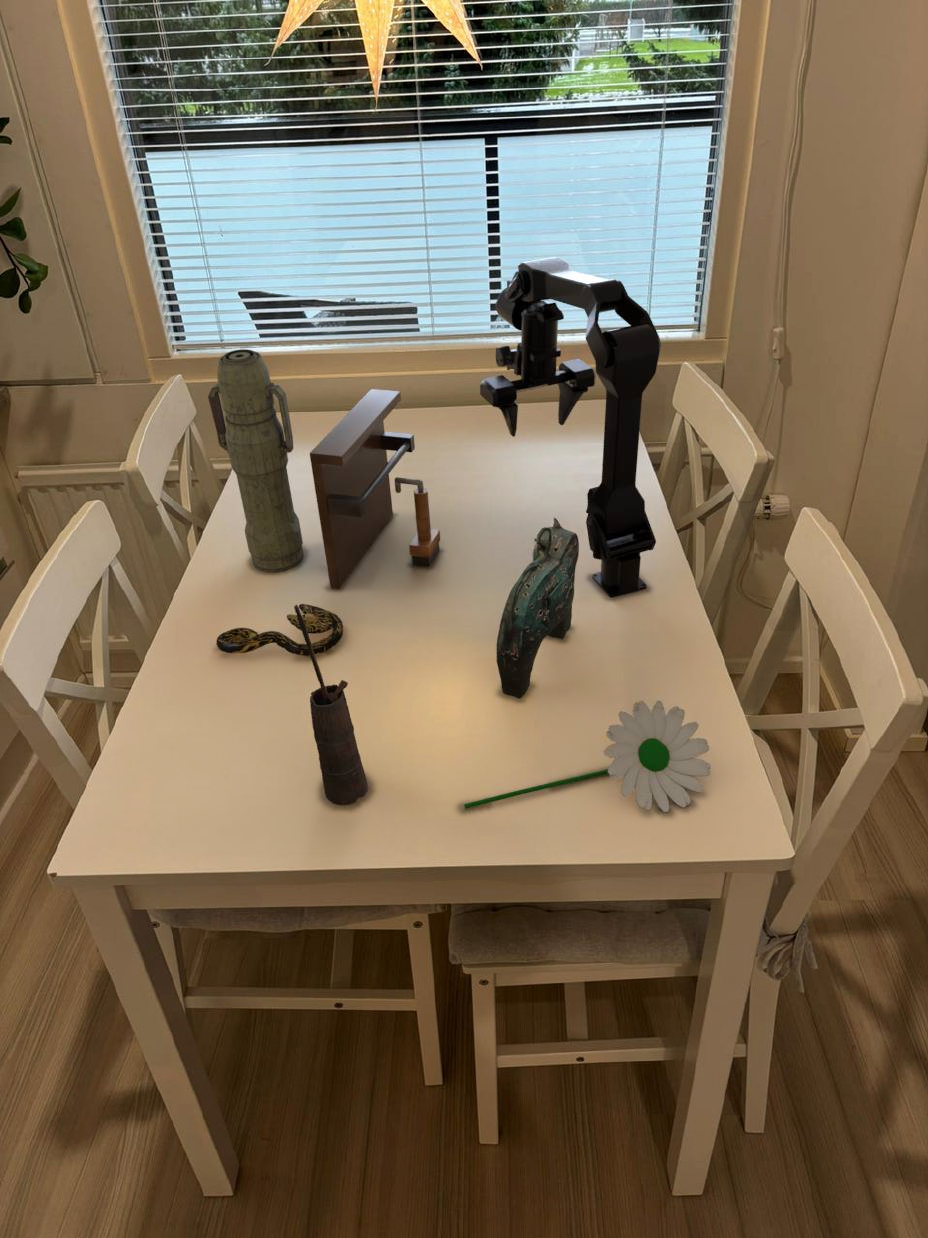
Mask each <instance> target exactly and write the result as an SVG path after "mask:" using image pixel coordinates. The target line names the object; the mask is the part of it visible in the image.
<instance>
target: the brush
mask: <svg viewBox="0 0 928 1238" xmlns="http://www.w3.org/2000/svg"><path fill="white" fill-rule="evenodd" d="M402 484H403V485H411V486H417V488H415V489H414V490H413V498H414V500H413V501H414V511H415V522H416V534H415V535H414V537H413V538H412V539H411V541H410V543H409V544H408V549H409V556H411V564H412V566H415V567H416V566H417V567H423V568H430V567H431V566H432V565H433V563H434V561H435V560H436V559H437V556H438V554H439V552H440V542H441V530H440V529H433V528H431V516H430V503H429V501H430V500H429V490H428V489H427V488H425V487H424V481H423V480H422V479H417V478H409V477H398V476H397V477H395V478H394V491H395V492H396V494H400V493H401V492H402Z"/></svg>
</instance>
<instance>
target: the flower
mask: <svg viewBox="0 0 928 1238" xmlns="http://www.w3.org/2000/svg"><path fill="white" fill-rule="evenodd" d="M664 707H665V706H664V704H663V701H662V700H656V701H655V703H654V705H653V706H652V709H650V707H649V706H648V705H647V704H646V702H645V701H643V700H640V701H638V702H637V701H636V702H634V703H633V706H632V714H633V715H632V714H630V713H629V712H626V711H622V710H620V711H619V712H618V718H619V721H620V723H621V724H622V725H621V724H612V725H608V728H607V729H608V730H607V731H606V737H607V738H608V739H609V740H610V741H611V742H614V743H612V744H610V745H608V746H607V747H605V748H604V750H603V755H604V756H605V757H608V758H610V759H612V758H615V759H613V760H612V762H611V763H610V764H609V766H608V768H607V769H603V770H599V771H595V772H590V773H587V774H582V775H579V776H574V777H570V778H565V779H561V780H556V781H552V782H548V783H547V782H546V783H543V784H539V785H535V786H530V787H528V788H523V789H519V790H514V791H510V792H506V793H502V794H498V795H494V796H490V797H486V798H482V799H479V800H476V801H471V802H467V803H464V804H463V806H464V809H465V810H468V809H472V808H474V807H478V806H482V805H486V804H490V803H493V802H498V801H501V800H505V799H509V798H513V797H514V798H515V797H517V796H522V795H525V794H530V793H534V792H539V791H542V790H546V789H551V788H556V787H559V786H564V785H568V784H572V783H577V782H580V781H585V780H589V779H593V778H597V777H601V776H605V775H609V778H610V780H611V781H612V782H614V781H619V780H620V779H622V778H623V779H622V783H621V789H620V791H621V795H622V796H623V797H625V798H626V797H627V798H628V797H629V796H630V795H631V794H632V793H633V791H634V790H635V792H634V793H635V800H636V803H637V806H638V807H639V808H642V809H644V810H646V811H649V810H650V809H651V807H652V804H653V799H654V801H655V802H656V805H657V806H658V808H659V809H660V810H661V811H662V812H663V813H668V812H669V811H670V802H669V799H670V800H671V801H672V802H674V804H675V805H676V806H678V807H680V808H682V809H684V808H686V807H687V806H689V805H691V804H692V801H691V797H690V796H689V793H688V792H687V791H686V789H688V790H690V791H691V792H695V793H703V791H704V787H703V785H702V783H700V781H699V780H697V779H695V777H708V776H710V774H711V768H712V765H711V764H710V763H709V762H707V761H706V760H704V759H701V758H697V757H698V756H702V755H703V754H706V753H707V752H709V751H710V745H709V743H708V740H707V739H706V738H701V737H693V736H694V734H695V733H696V732H697V730H698V729H699V723H698V722H697V721H692V722H687V723H685V724H683V723H684V719H685V713H686V712H685V710H684V709H683V708H680V707H679V706H677V705H675V706H673V707H672V708H670V709H669V710H668V711H667V713H666V711H665V708H664ZM692 737H693V738H692ZM693 776H695V777H693ZM684 788H685V789H684ZM668 797H669V798H668Z"/></svg>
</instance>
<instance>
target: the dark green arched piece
mask: <svg viewBox="0 0 928 1238" xmlns="http://www.w3.org/2000/svg"><path fill="white" fill-rule="evenodd" d="M534 541H535V545H534V548H533V552H532V561H531V562H530V563H529V564H528V565H527V566H526V567H525V569H524V570H523V572H522V573H521V575H520V576H519V577H518V579H517V581H516V582H515V583H514V585H513V586H512V589H511V590H510V592H509V594H508V597H507V599H506V602H505V604H504V608H503V611H502V615H501V619H500V622H499V628H498V633H497V638H496V665H497V669H498V673H499V674H498V675H499V678H500V684H501V685H500V686H501V692H502V694H504V695H506V696H510V697H514V698H517V699H518V700H519V699H522V698H523V697H524V696H525V695H526V693H527V691H528V690H529V688H530V686H531V676H532V671H533V668H534V664H535V660H536V658H537V656H538V653H539V652H538V651H539V649H540V647H541V646H542V645H541V644H542V643H543V641H544V640H545V638H546V637H550V638H554V639H557V640H562V641H563V640H564V638H566V634H567V633H568V632H569V631H570V629H571V626H572V618H573V603H574V602H573V601H574V597H575V577H576V568H577V563H578V560H579V554H580V543H579V542H580V541H579V536H578V534H577V533H576V532H573V531H571V530H568V529H566V528H564V527H562V526H561V524H560V522H559V520H558V519H557V518H556V517H553V525H552V526H545V527H541V529H540V530H539V531H538V533H537V534H536V538H534Z"/></svg>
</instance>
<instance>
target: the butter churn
mask: <svg viewBox="0 0 928 1238" xmlns="http://www.w3.org/2000/svg"><path fill="white" fill-rule="evenodd" d="M293 607H294V608H293V609H294V612H295V615H297V619H298V622H299V625H300V628H301V630H302V631H301V630H300V631H301V634H302V636H303V639H304V643H305V644H306V645H307V648H308V651H309V654H310V656H309V657H310V660H311V663H312V667H313V669H314V672H315V675H316V678H317V681H318V682H319V686H320V687H319V688H317V689H315V690H314V691H311V693H310V697H309V704H310V715H311V723H312V724H311V725H312V729H313V737H314V741H315V744H316V749H317V753H318V760H319V769H320V771H321V779H322V785H323V790H324V795H325V798H326V799H327V801H329V802H330V803H331V804H333V805H336V806H346V805H347V806H348V805H353V804H356V803H357V801H358V799H359V798H364V797H365V796H366V795H367V793H368V791H369V784H368V783H369V782H368V779H367V776H366V772H365V769H364V765H363V762H362V759H361V754H360V752H359V748H358V743H357V740H356V736H355V727H354V724H353V722H352V718H351V713H350V710H349V709H350V708H349V705H348V702H347V698H346V694H345V691H344V690H345V689H346V688H347V687H348V685H349V683H348V682H347V681H346V680H343V679H341V681H340V682H339V683H338V684H331V685H330V684H328V685H325V682H324V678H323V674H322V673H321V669H320V666H319V664H318V663H319V662H318V660H317V657H316V655H315V654H314V651H313V648H312V644H311V643H312V641H311V638H310V635H309V634H310V633H308V631H307V628H306V625H305V622H304V620H303V618H302V615H303V614H302V612H301V610H300V608H299V605H298V604H295V605H294V606H293Z"/></svg>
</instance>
